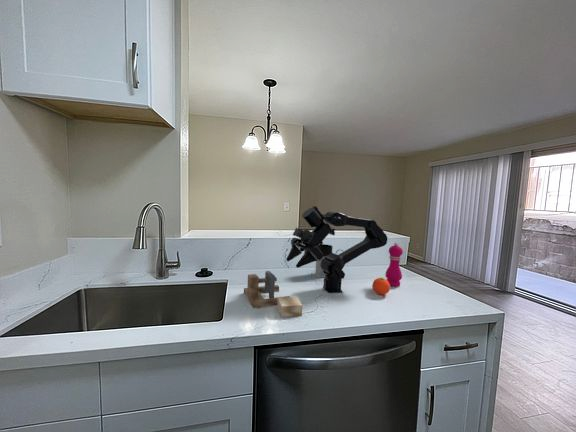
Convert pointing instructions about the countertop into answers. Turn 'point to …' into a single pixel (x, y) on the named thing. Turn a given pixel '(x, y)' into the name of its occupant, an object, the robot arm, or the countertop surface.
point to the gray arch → (270, 284)
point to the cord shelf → (254, 292)
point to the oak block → (289, 306)
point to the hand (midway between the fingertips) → (291, 263)
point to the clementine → (381, 286)
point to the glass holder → (326, 251)
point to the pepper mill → (394, 266)
